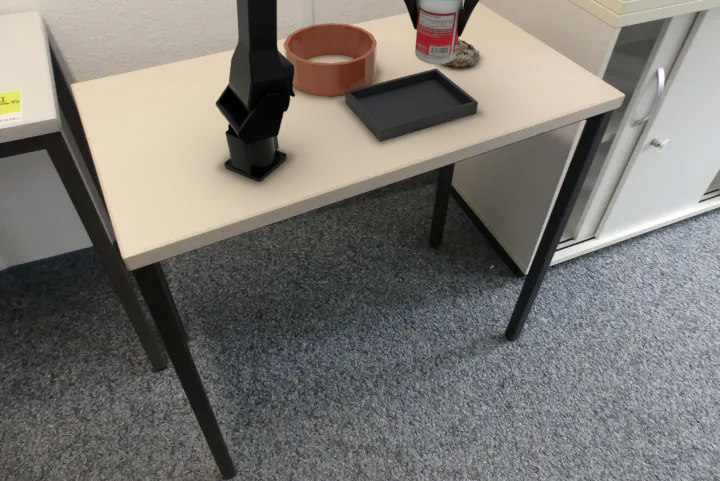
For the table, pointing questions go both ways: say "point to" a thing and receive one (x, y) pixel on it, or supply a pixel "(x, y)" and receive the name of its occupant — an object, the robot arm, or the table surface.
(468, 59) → the mineral rock
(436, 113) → the tray
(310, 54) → the pot
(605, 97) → the table surface
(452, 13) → the pill bottle
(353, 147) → the table surface
